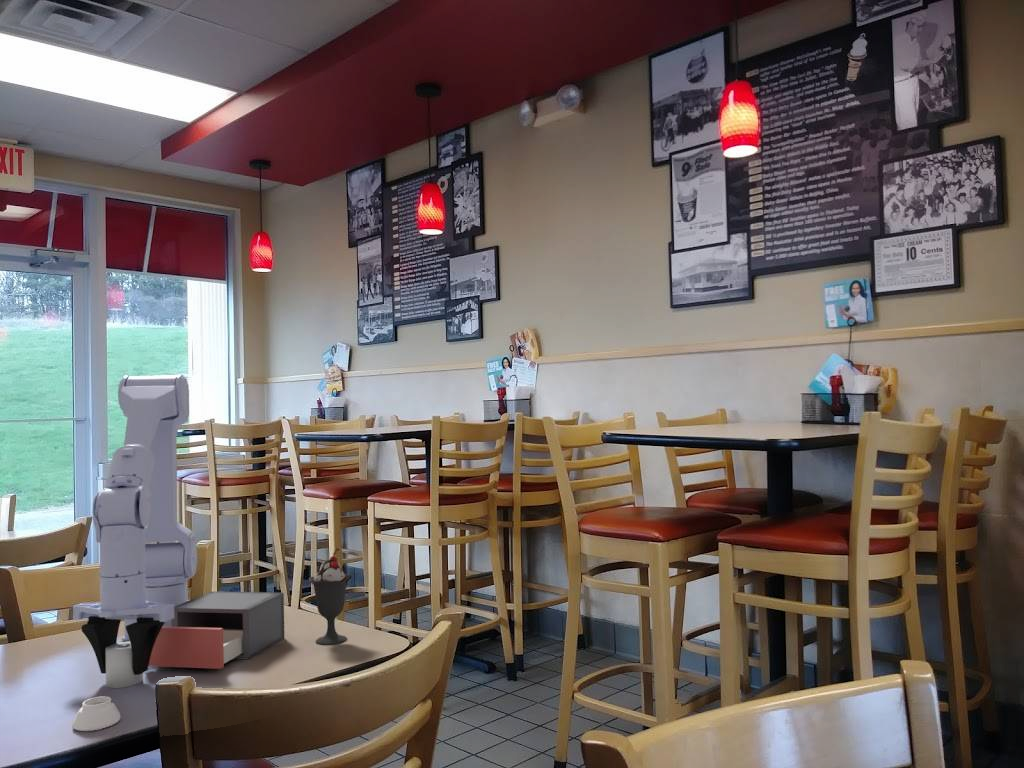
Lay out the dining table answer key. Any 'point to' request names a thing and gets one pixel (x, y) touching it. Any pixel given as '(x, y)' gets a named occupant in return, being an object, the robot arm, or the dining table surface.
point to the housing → (237, 617)
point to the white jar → (96, 714)
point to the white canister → (120, 666)
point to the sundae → (330, 596)
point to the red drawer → (196, 647)
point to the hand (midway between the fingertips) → (124, 671)
